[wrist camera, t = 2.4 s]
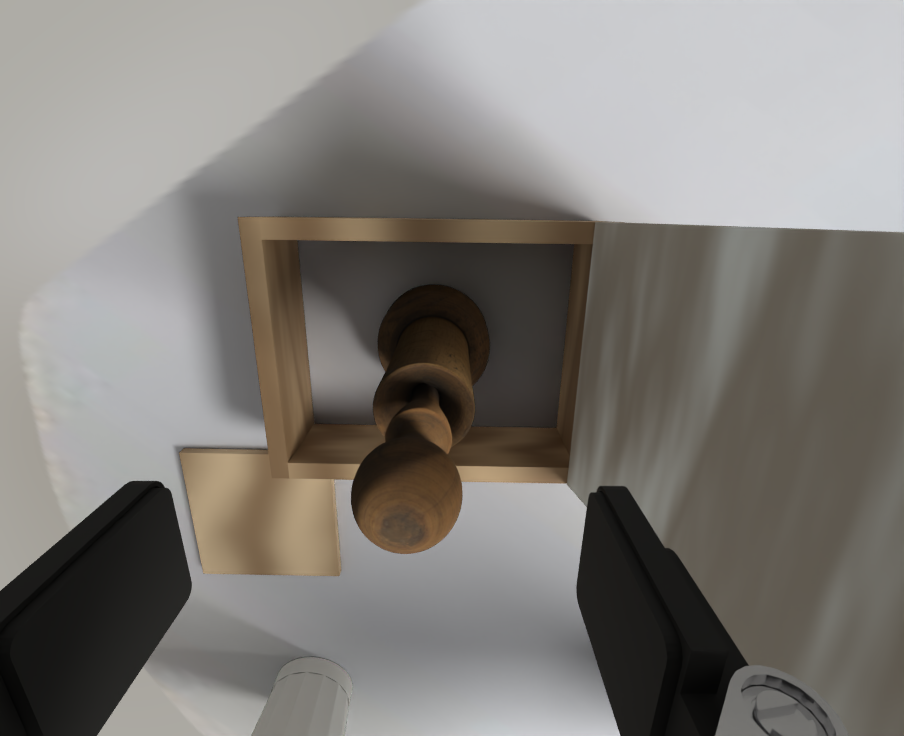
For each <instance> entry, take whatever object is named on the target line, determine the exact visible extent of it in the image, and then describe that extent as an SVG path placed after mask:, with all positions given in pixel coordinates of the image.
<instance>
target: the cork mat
mask: <svg viewBox="0 0 904 736" xmlns="http://www.w3.org/2000/svg"><path fill="white" fill-rule="evenodd" d="M179 455H180V460H181V465H182V470H183V475H184V480H185V485H186V490H187V495H188V500H189V504H190V509H191V514H192V519H193V524H194V529H195V534H196V539H197V544H198V549H199V554H200V559H201V564H202V569H203V574H254V575H306V576H339V575H340V572H341V561H340V548H339V536H338V524H337V511H336V499H335V487H334V479H286V478H272V476H271V468H270V461H269V453H268V450H249V449H191V448H184V449H183V450H182V451H181V452H179Z"/></svg>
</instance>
